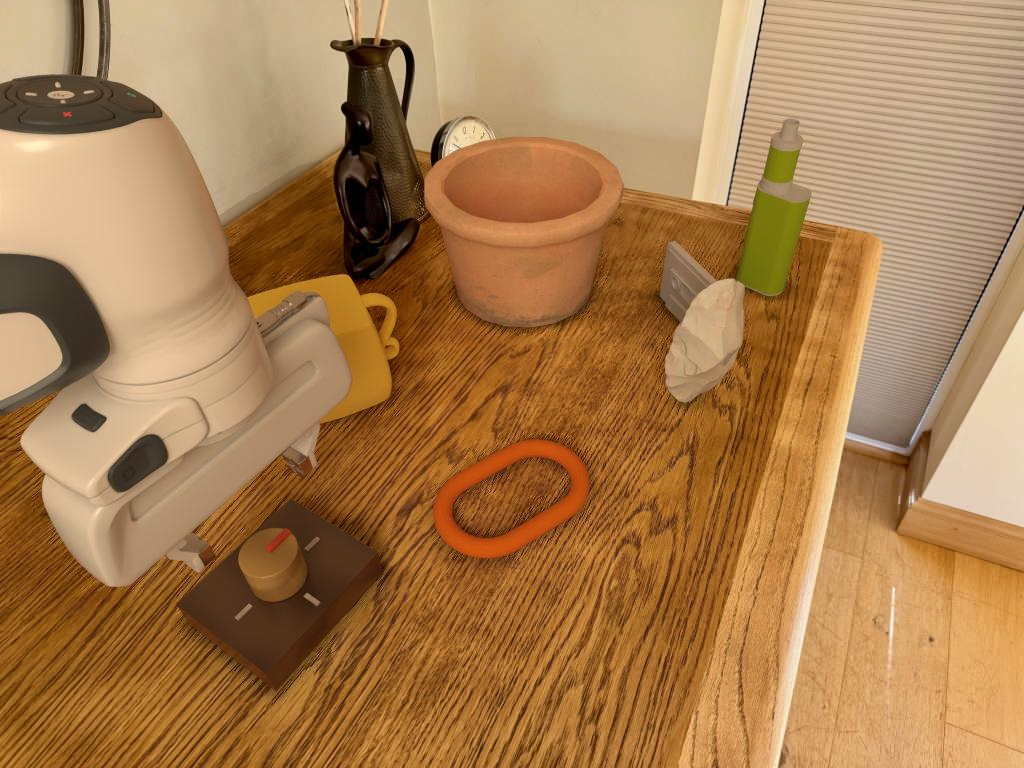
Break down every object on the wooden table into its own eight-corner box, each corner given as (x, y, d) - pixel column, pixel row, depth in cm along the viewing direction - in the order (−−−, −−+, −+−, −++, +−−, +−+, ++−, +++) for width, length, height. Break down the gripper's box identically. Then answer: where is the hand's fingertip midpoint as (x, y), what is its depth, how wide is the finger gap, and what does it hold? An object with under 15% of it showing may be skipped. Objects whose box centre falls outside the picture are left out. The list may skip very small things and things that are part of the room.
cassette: (655, 296, 87) (663, 242, 82) (668, 293, 88) (677, 238, 82) (710, 357, 79) (723, 301, 74) (725, 353, 79) (739, 296, 74)
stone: (679, 429, 72) (703, 308, 61) (652, 394, 75) (671, 274, 65) (747, 407, 73) (782, 286, 63) (717, 374, 77) (746, 255, 67)
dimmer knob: (277, 612, 55) (265, 585, 52) (238, 584, 56) (224, 557, 54) (319, 569, 57) (309, 542, 55) (280, 543, 59) (268, 516, 56)
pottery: (448, 236, 98) (439, 133, 88) (612, 240, 96) (621, 137, 86) (420, 339, 82) (405, 229, 72) (615, 347, 81) (626, 235, 71)
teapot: (225, 457, 70) (185, 367, 62) (210, 377, 78) (173, 289, 70) (422, 396, 75) (409, 306, 67) (388, 328, 84) (373, 241, 76)
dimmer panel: (276, 692, 53) (265, 672, 51) (188, 623, 58) (174, 602, 55) (383, 572, 60) (377, 550, 58) (298, 518, 65) (290, 496, 62)
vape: (745, 266, 91) (782, 110, 77) (789, 285, 88) (836, 126, 74) (729, 279, 89) (765, 122, 75) (774, 299, 86) (819, 138, 72)
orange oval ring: (411, 493, 64) (546, 420, 70) (414, 505, 65) (546, 432, 71) (471, 571, 58) (612, 484, 64) (472, 582, 60) (611, 496, 66)
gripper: (283, 263, 49) (326, 405, 59) (-13, 460, 37) (102, 598, 47) (352, 292, 46) (385, 436, 56) (57, 514, 34) (163, 649, 44)
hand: (254, 512), depth 51 cm, fingers open, 8 cm apart
